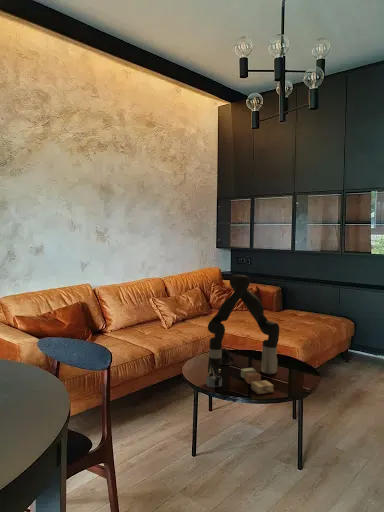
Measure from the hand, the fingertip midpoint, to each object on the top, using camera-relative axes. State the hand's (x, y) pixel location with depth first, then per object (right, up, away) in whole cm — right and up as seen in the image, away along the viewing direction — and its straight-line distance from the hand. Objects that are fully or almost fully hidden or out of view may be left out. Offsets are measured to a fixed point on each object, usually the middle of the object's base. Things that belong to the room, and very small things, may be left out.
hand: (213, 383), depth 228 cm
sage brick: (+22, -1, +16) cm, 28 cm away
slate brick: (0, -1, 0) cm, 1 cm away
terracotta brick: (+24, -2, +8) cm, 26 cm away
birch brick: (+27, -3, -4) cm, 28 cm away
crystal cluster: (+10, 0, +43) cm, 44 cm away
